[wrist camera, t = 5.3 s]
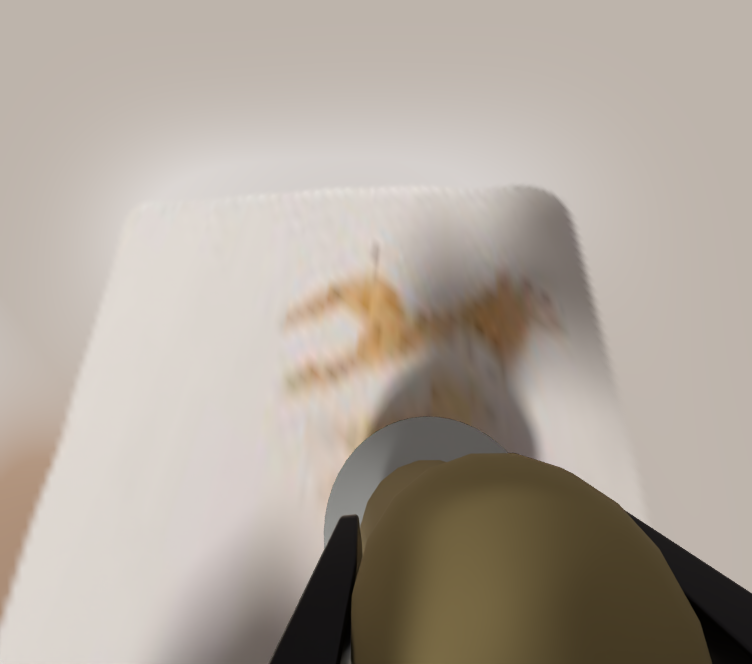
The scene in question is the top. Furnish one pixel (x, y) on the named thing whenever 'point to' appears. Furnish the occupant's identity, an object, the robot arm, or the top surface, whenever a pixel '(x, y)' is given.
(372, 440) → the lid
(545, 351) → the top surface
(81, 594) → the top surface
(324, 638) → the robot arm
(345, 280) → the top surface
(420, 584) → the cork
